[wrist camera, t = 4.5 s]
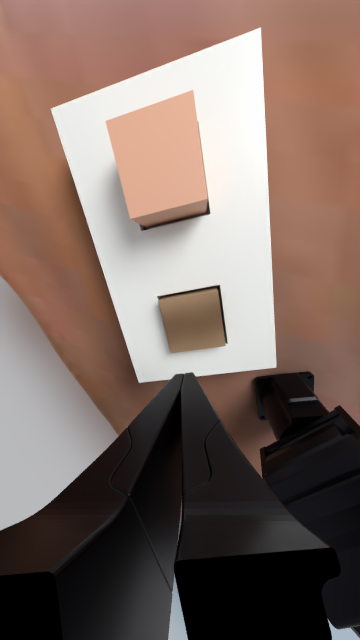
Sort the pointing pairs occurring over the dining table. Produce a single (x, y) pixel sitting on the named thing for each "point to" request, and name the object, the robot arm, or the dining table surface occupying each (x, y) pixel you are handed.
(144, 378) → the key panel
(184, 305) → the walnut key
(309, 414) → the robot arm
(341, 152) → the dining table surface
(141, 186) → the terracotta key
